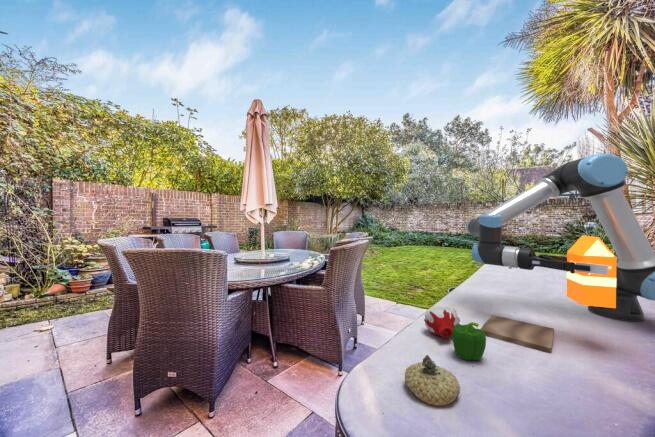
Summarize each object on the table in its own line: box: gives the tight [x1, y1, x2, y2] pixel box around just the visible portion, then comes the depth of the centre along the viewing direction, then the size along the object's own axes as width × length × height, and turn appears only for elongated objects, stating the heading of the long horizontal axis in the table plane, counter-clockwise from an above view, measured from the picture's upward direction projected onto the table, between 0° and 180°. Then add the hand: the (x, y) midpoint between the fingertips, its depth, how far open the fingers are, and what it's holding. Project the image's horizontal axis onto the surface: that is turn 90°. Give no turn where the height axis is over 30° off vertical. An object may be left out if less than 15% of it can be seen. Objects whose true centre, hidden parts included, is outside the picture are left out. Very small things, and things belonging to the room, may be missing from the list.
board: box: [480, 314, 555, 354], centre depth 87 cm, size 18×18×2 cm
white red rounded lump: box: [423, 304, 461, 339], centre depth 86 cm, size 9×11×15 cm
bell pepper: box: [451, 321, 487, 361], centre depth 73 cm, size 8×8×10 cm
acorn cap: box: [404, 354, 461, 407], centre depth 59 cm, size 10×11×10 cm
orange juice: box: [566, 235, 618, 308], centre depth 79 cm, size 8×9×20 cm
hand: (610, 268), depth 76 cm, fingers closed on orange juice, 10 cm apart
